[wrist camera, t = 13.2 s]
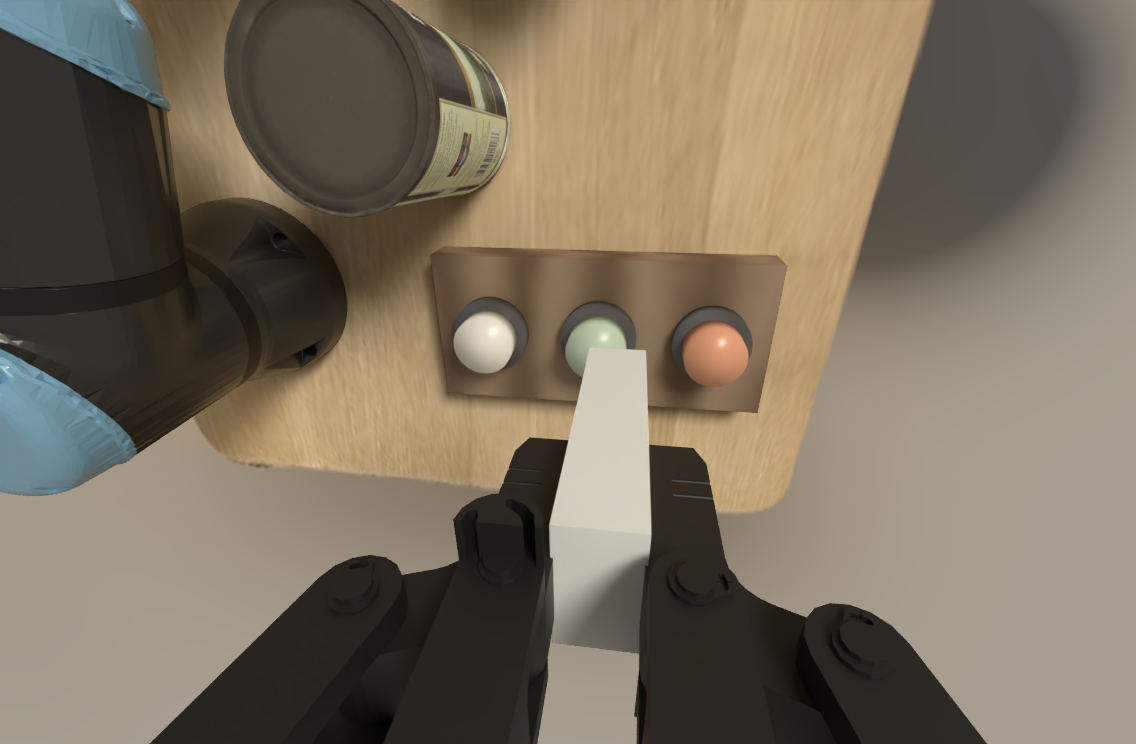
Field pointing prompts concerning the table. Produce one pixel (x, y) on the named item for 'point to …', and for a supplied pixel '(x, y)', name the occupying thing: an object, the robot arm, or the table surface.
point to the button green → (592, 340)
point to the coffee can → (361, 104)
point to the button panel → (620, 292)
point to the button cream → (485, 341)
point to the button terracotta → (714, 353)
